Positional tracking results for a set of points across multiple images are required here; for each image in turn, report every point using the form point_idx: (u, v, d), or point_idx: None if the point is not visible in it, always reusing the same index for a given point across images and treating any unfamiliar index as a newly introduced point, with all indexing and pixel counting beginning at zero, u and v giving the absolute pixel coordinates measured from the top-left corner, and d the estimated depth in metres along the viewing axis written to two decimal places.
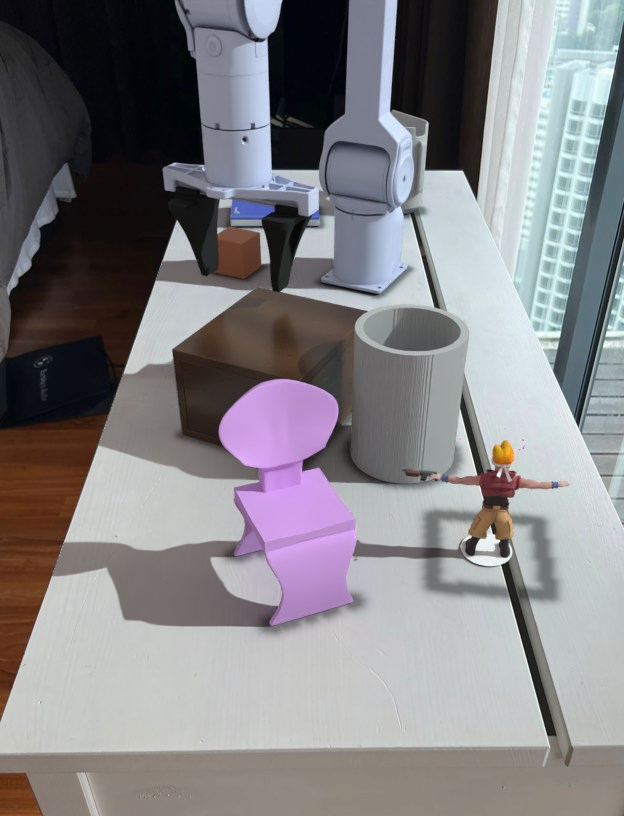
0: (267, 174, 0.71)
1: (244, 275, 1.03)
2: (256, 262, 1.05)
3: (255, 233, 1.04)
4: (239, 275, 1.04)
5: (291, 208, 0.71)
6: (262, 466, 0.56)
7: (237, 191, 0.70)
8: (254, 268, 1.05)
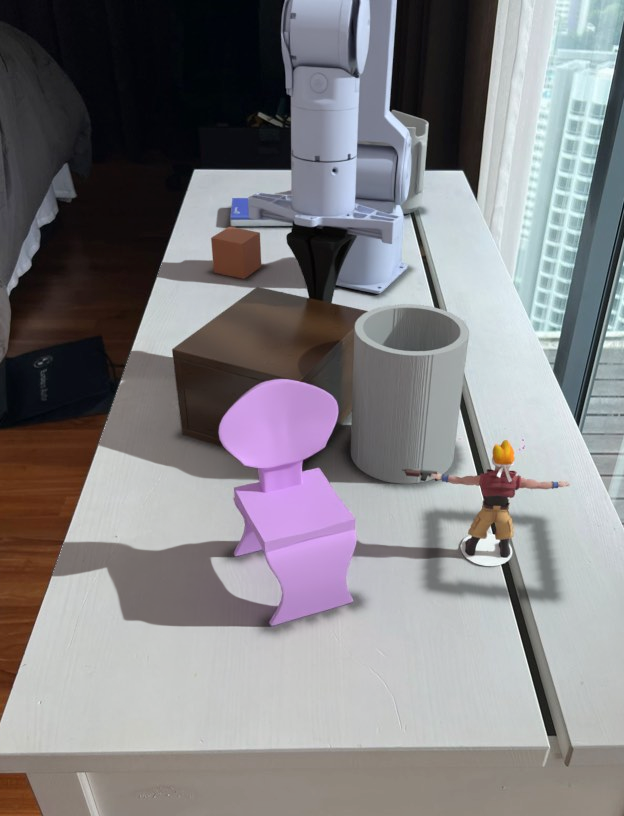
0: (352, 203, 0.74)
1: (244, 275, 1.03)
2: (256, 262, 1.05)
3: (255, 233, 1.04)
4: (239, 275, 1.04)
5: (338, 229, 0.75)
6: (262, 466, 0.56)
7: (324, 219, 0.73)
8: (254, 268, 1.05)
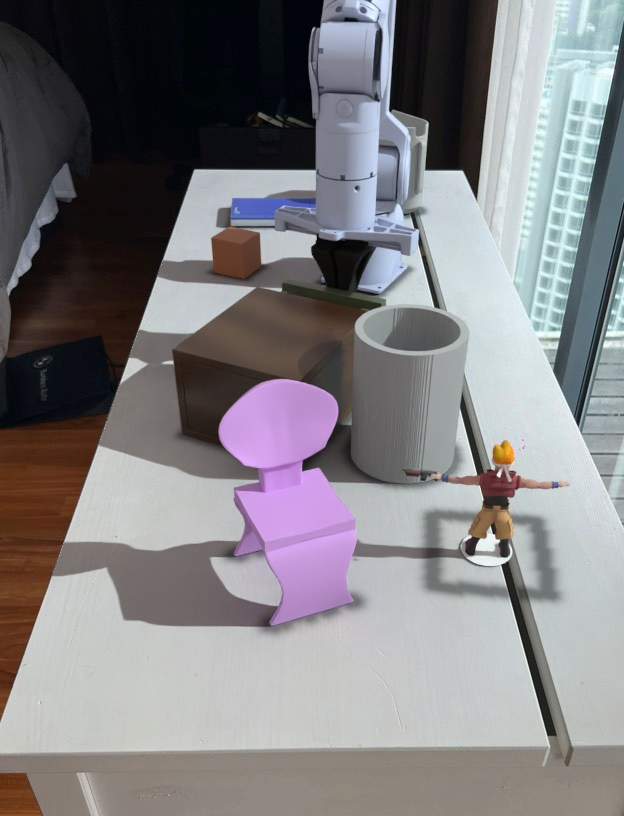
0: (372, 218, 0.79)
1: (244, 275, 1.03)
2: (256, 262, 1.05)
3: (255, 233, 1.04)
4: (239, 275, 1.04)
5: (360, 242, 0.81)
6: (262, 466, 0.56)
7: (347, 233, 0.78)
8: (254, 268, 1.05)
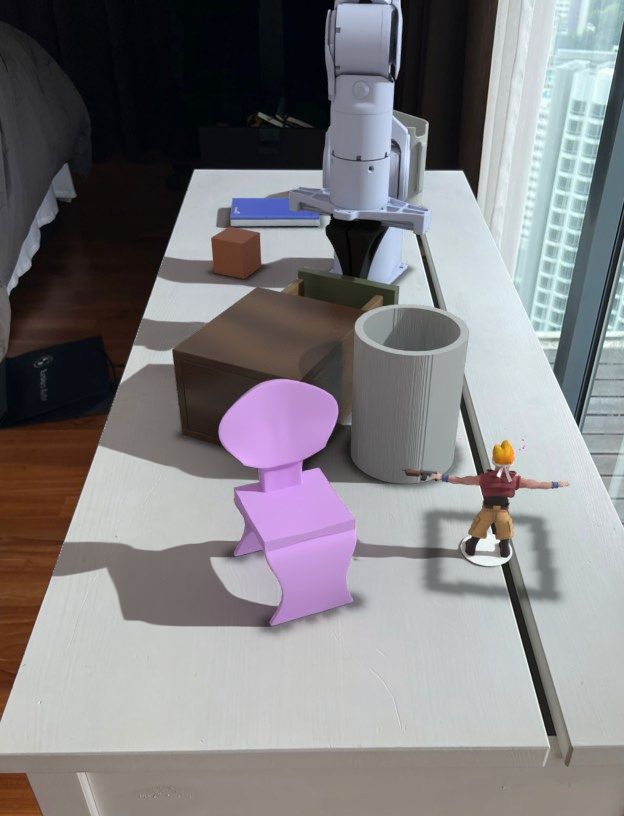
0: (385, 198, 0.81)
1: (244, 275, 1.03)
2: (256, 262, 1.05)
3: (255, 233, 1.04)
4: (239, 275, 1.04)
5: (373, 222, 0.82)
6: (262, 466, 0.56)
7: (360, 213, 0.80)
8: (254, 268, 1.05)
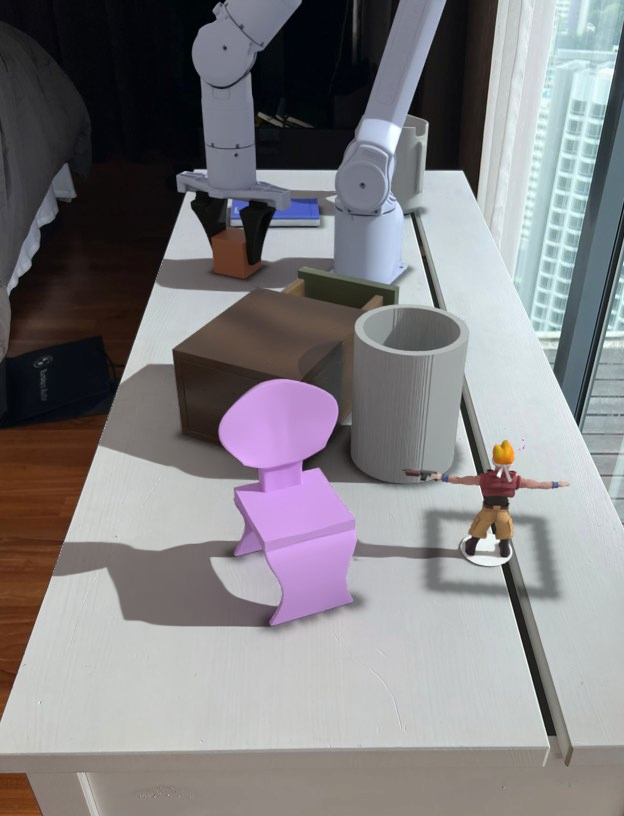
0: (253, 180, 0.98)
1: (244, 275, 1.03)
2: None
3: None
4: (239, 275, 1.04)
5: (260, 203, 0.98)
6: (262, 466, 0.56)
7: (231, 192, 0.97)
8: (254, 268, 1.05)
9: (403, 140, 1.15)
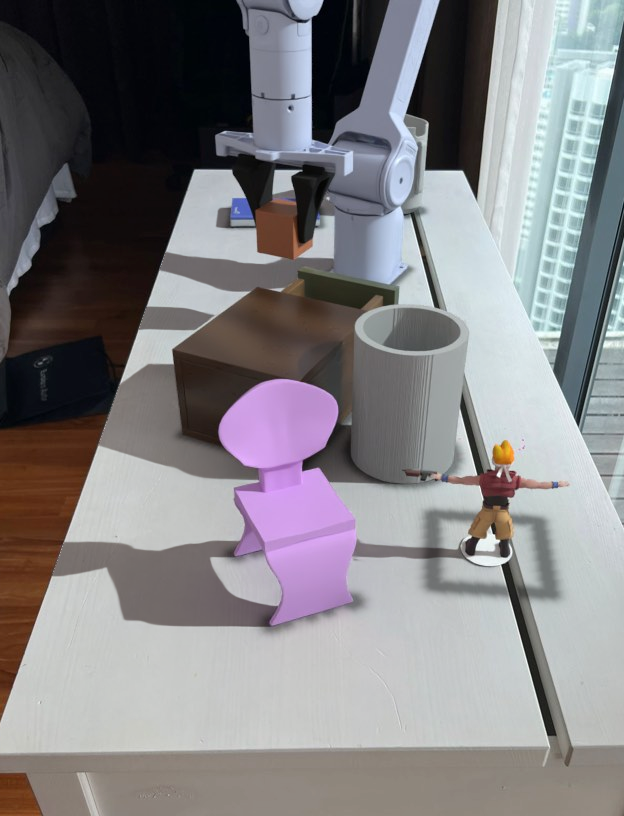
0: (308, 139, 0.82)
1: (294, 255, 0.87)
2: None
3: None
4: (288, 255, 0.87)
5: (317, 167, 0.82)
6: (262, 466, 0.56)
7: (282, 154, 0.81)
8: (305, 248, 0.89)
9: None
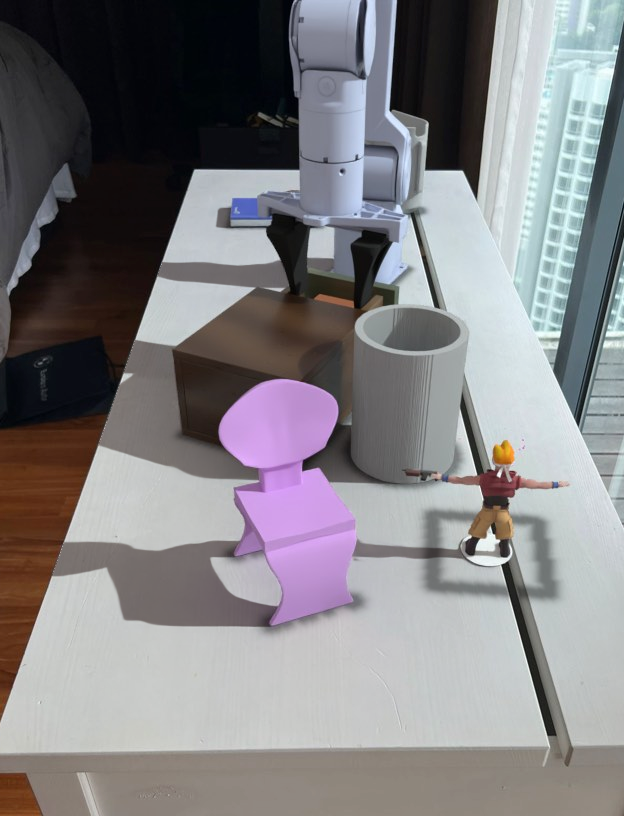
0: (359, 202, 0.76)
1: None
2: None
3: (353, 303, 0.84)
4: None
5: (378, 234, 0.76)
6: (262, 466, 0.56)
7: (332, 219, 0.75)
8: None
9: None
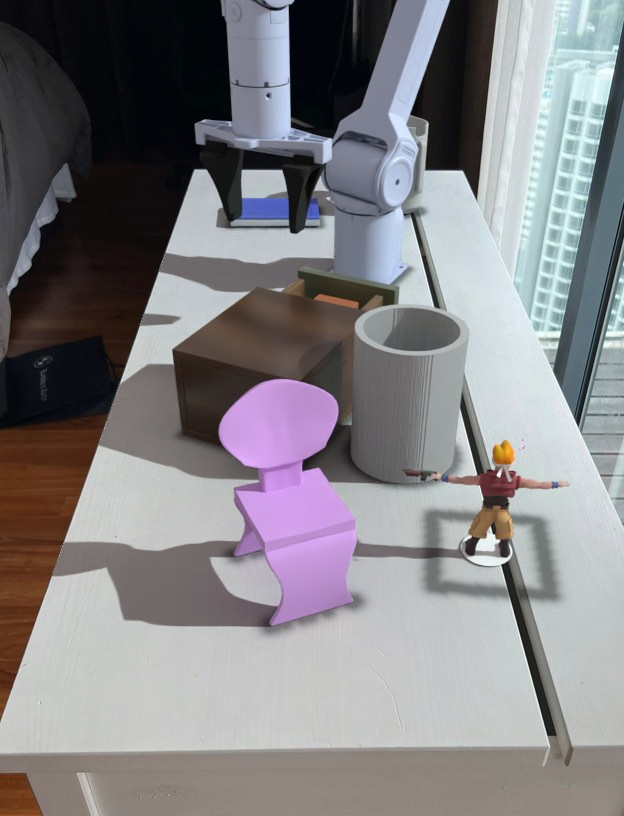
0: (287, 127, 0.82)
1: None
2: None
3: (353, 303, 0.84)
4: None
5: (308, 157, 0.82)
6: (262, 466, 0.56)
7: (261, 141, 0.81)
8: None
9: None
